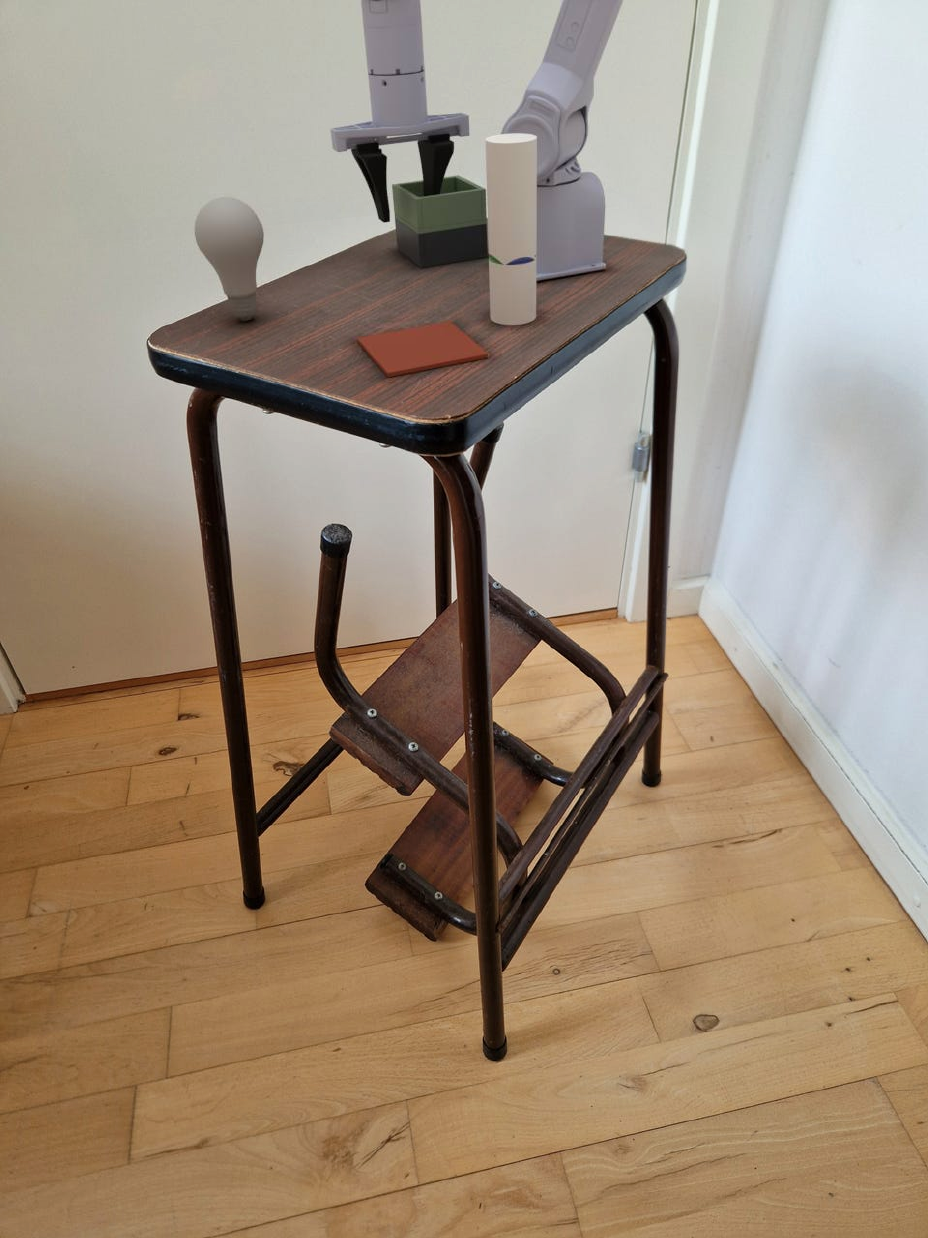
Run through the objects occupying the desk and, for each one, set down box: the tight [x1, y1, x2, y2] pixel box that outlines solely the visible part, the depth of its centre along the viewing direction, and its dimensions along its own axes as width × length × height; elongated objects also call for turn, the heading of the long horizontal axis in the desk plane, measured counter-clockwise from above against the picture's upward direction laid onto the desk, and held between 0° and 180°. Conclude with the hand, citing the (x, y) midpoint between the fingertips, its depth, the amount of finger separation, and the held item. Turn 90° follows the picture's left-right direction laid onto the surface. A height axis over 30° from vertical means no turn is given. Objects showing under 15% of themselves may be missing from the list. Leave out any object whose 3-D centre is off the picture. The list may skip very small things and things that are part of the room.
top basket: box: [391, 174, 488, 234], centre depth 97 cm, size 8×8×4 cm
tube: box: [485, 133, 537, 326], centre depth 78 cm, size 4×4×15 cm
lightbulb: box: [194, 196, 265, 322], centre depth 82 cm, size 6×6×11 cm
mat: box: [356, 320, 489, 378], centre depth 77 cm, size 9×9×1 cm
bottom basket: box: [394, 217, 489, 269], centre depth 99 cm, size 8×8×4 cm
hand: (407, 216), depth 97 cm, fingers open, 5 cm apart
